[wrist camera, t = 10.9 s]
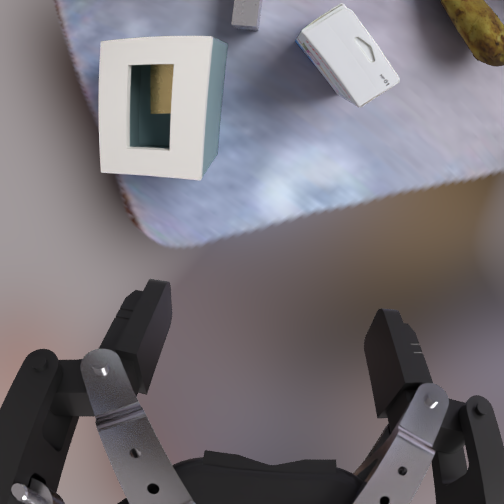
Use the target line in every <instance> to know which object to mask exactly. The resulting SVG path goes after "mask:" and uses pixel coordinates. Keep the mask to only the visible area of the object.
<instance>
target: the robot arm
mask: <svg viewBox="0 0 504 504" xmlns="http://www.w3.org/2000/svg"><path fill="white" fill-rule="evenodd" d="M171 319H172V304H171V287H170V283H169V282H167V281H160V280H154V279H150V280H149V281H148V283H147V285H146V287H145V289H144V291H138V290H135V291H134V292H132V293H131V294H130V295H129V296H128V297H126V298H125V300H124V302H123V304H122V305H121V308H120V310H119V311H118V313H117V315H116V318H114V320H113V322H112V324H111V326H110V328H109V330H108V332H107V334H106V336H105V338H104V340H103V342H102V343H101V345H100V347H99V349H96V350H93V351H91V352H89V353H88V354H86V355H85V356H84V358H83V359H79V360H58V358H57V356H56V355H55V354H54V353H53V352H52V351H50V350H47V349H39V350H36V351H33V352H32V353H30V354H29V355H28V356H27V357H26V359H25V360H24V362H23V364H22V366H21V368H20V370H19V371H18V373H17V375H16V377H15V379H14V381H13V383H12V385H11V387H10V389H9V391H8V394H7V396H6V398H5V400H4V402H3V404H2V407H1V408H0V504H65V503H64V501H63V499H62V498H61V497H60V495H58V494H57V493H56V492H57V488H58V484H59V481H60V477H61V473H62V470H63V466H64V463H65V460H66V456H67V453H68V450H69V446H70V443H71V440H72V437H73V434H74V431H75V428H76V425H77V422H78V419H79V416H95V418H96V426H97V430H98V432H99V435H100V438H101V440H102V443H103V445H104V448H105V450H106V453H107V455H108V458H109V460H110V463H111V465H112V467H113V470H114V472H115V474H116V476H117V479H118V481H119V483H120V485H121V487H122V489H123V491H124V494H125V496H126V498H125V499H124V500H122V501H121V502H119V503H118V504H410V503H411V501H412V499H413V497H414V495H415V494H416V492H417V490H418V488H419V486H420V484H421V482H422V480H423V478H424V476H425V474H426V472H427V470H428V468H429V466H430V464H431V462H432V469H433V477H434V485H435V495H436V504H504V446H503V442H502V439H501V435H500V431H499V428H498V424H497V421H496V417H495V414H494V411H493V408H492V406H491V404H490V403H489V401H488V400H487V399H485V398H484V397H481V396H477V395H476V396H472V397H471V398H469V400H468V401H467V402H466V403H464V402H459V401H456V400H452V399H449V398H448V396H447V394H446V392H445V391H444V390H443V389H442V388H441V387H440V386H438V385H436V384H433V382H432V379H431V376H430V373H429V370H428V367H427V364H426V361H425V358H424V355H423V354H422V350H421V347H420V345H419V342H418V339H417V336H416V333H415V332H414V331H413V330H412V329H411V327H410V326H409V325H408V324H405V323H403V321H402V318H401V315H400V313H399V311H398V310H391V309H379V310H378V311H377V313H376V315H375V317H374V319H373V322H372V324H371V326H370V328H369V330H368V332H367V334H366V337H365V342H364V351H365V356H366V361H367V366H368V370H369V375H370V380H371V385H372V391H373V396H374V401H375V407H376V413H377V418H388V422H389V423H388V424H387V426H386V427H385V429H384V430H383V432H382V433H381V435H380V437H379V438H378V440H377V441H376V443H375V445H374V446H373V448H372V449H371V451H370V452H369V454H368V455H367V457H366V458H365V460H364V461H363V462H362V464H361V465H360V466H359V467H358V468H357V469H356V470H355V472H354V473H353V474H352V473H350V472H348V471H346V470H343V469H341V468H337V467H336V460H301V461H295V462H290V463H285V464H279V465H268V464H264V463H261V462H258V461H255V460H252V459H249V458H246V457H243V456H240V455H236V454H228V453H220V452H213V451H207V450H206V451H205V452H204V457H202V458H193V459H188V460H185V461H181V462H179V463H176V464H174V465H172V464H171V462H170V460H169V459H168V457H167V455H166V453H165V452H164V450H163V448H162V446H161V444H160V442H159V440H158V438H157V437H156V435H155V432H154V430H153V428H152V426H151V424H150V422H149V420H148V418H147V416H146V414H145V412H144V410H143V408H142V407H141V406H140V404H139V402H138V400H137V398H136V397H137V394H138V393H142V394H147V392H148V389H149V386H150V383H151V380H152V377H153V374H154V371H155V368H156V365H157V363H158V359H159V357H160V354H161V351H162V348H163V345H164V342H165V340H166V336H167V334H168V331H169V328H170V324H171ZM464 445H466V450H467V455H468V461H469V468H468V470H467V465H466V460H465V454H464V449H463V446H464Z"/></svg>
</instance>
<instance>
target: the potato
mask: <svg viewBox="0 0 504 504" xmlns="http://www.w3.org/2000/svg"><path fill="white" fill-rule="evenodd" d="M441 4H442V6H443V7H444V9H445V10H446V12H447V14H448V16H449V17H450V19H451V21H452V23H453V24H454V26H455V27H456V29H457V30H458V32H459V33H460V35H461V36H462V38H463V39H464V41H465V43H466V44H467V46H468V48H469V49H470V50H471V52H472V53H473V56H474V57H475V58H476V59H477V60H478V61H481V62H483V63H486V64H488V65H491V66H503V65H504V25H503V24H502V22H501V21H500V20H499V18H498V16H497V15H496V14H495V13H494V12H493V10H492V9H491V8H490V7H489V6H488V5H487V3H486V2H485V1H484V0H441Z"/></svg>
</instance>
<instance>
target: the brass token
mask: <svg viewBox="0 0 504 504" xmlns="http://www.w3.org/2000/svg"><path fill="white" fill-rule="evenodd" d="M173 71H174V64H151V69H150V100H151V114H167V113H171V101H172V85H173Z"/></svg>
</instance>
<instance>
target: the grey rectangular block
mask: <svg viewBox="0 0 504 504" xmlns="http://www.w3.org/2000/svg"><path fill="white" fill-rule="evenodd" d="M261 6H262V0H234V7H233V15H232V23H231V25H232V26H233V27H234V28H235V29H244V30H256V31H258V30H259V22H260V14H261Z"/></svg>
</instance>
